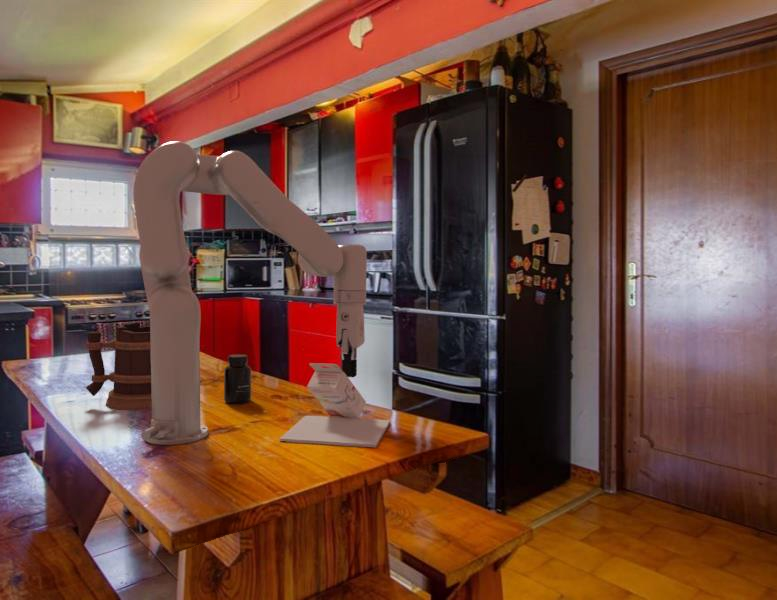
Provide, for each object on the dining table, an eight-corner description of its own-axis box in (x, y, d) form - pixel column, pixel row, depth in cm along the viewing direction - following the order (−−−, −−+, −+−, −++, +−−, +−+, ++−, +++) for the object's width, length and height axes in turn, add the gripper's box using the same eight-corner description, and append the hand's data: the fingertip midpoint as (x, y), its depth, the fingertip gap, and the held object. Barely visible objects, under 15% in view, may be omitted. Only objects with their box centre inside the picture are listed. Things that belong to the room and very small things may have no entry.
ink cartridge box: (329, 417, 139) (298, 379, 130) (338, 400, 142) (307, 361, 133) (359, 419, 134) (329, 380, 126) (367, 401, 137) (338, 361, 129)
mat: (375, 447, 116) (375, 444, 116) (279, 441, 120) (279, 438, 120) (389, 422, 134) (389, 420, 134) (305, 418, 137) (305, 415, 137)
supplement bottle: (244, 405, 149) (244, 358, 148) (219, 403, 150) (219, 357, 149) (255, 399, 155) (255, 354, 154) (231, 397, 157) (231, 353, 156)
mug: (82, 400, 152) (80, 323, 151) (173, 390, 165) (172, 319, 163) (91, 416, 137) (89, 331, 135) (190, 404, 149) (190, 326, 148)
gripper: (359, 300, 128) (358, 383, 129) (371, 296, 142) (370, 371, 144) (325, 299, 129) (325, 382, 130) (341, 295, 144) (340, 369, 145)
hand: (349, 376), depth 137 cm, fingers closed
